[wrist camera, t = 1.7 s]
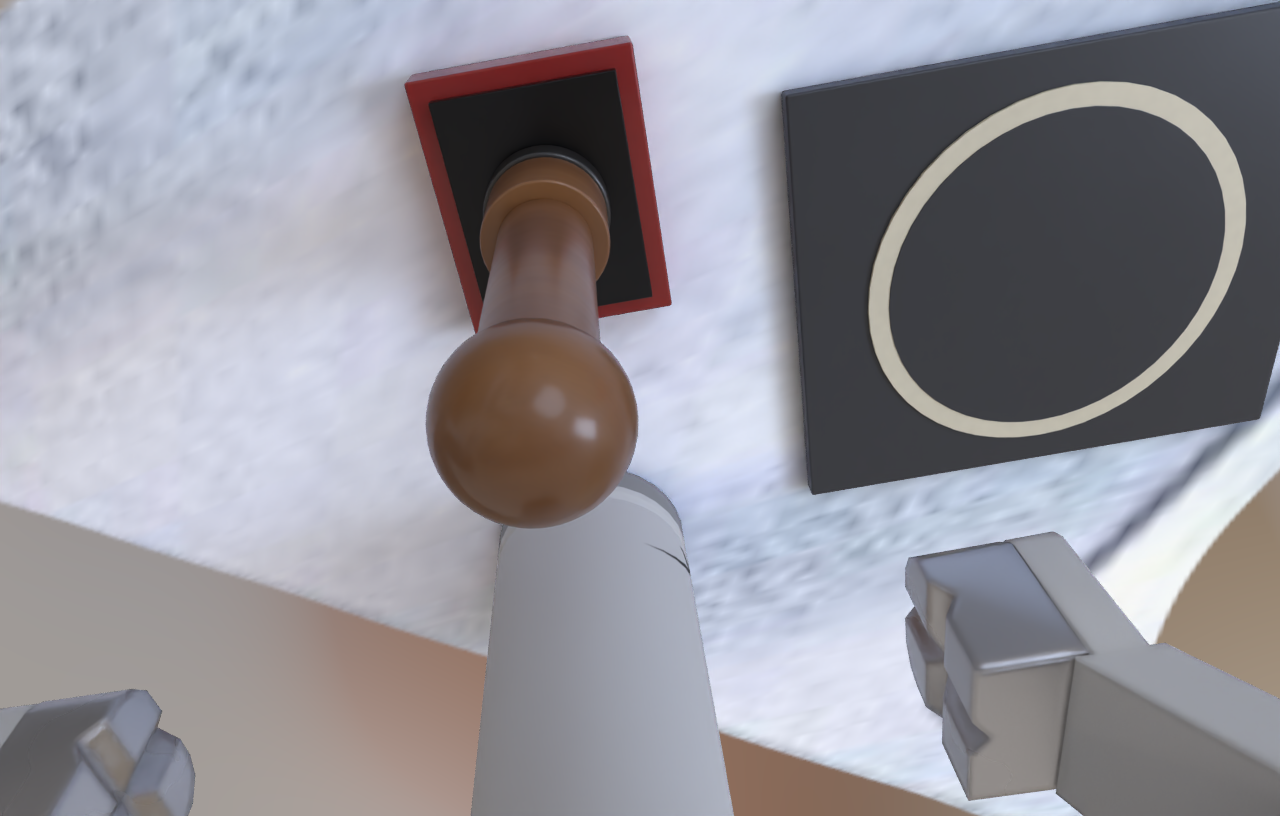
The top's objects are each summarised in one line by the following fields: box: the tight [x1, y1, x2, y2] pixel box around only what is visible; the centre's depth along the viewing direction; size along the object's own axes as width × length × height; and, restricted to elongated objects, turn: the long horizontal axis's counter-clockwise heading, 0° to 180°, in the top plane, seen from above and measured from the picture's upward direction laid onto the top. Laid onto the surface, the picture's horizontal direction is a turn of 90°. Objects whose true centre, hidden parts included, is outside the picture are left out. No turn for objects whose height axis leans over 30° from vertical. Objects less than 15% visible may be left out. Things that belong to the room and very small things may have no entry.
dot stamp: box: [426, 145, 638, 529], centre depth 17 cm, size 3×3×12 cm
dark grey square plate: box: [781, 2, 1280, 495], centre depth 26 cm, size 13×15×1 cm
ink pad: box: [404, 36, 672, 334], centre depth 23 cm, size 7×6×2 cm
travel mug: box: [471, 472, 734, 816], centre depth 21 cm, size 6×7×20 cm
